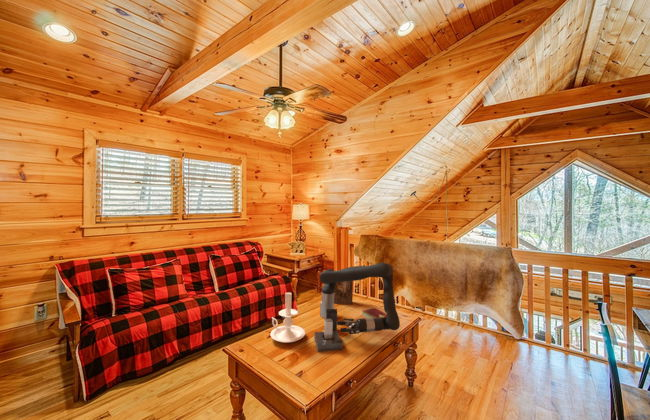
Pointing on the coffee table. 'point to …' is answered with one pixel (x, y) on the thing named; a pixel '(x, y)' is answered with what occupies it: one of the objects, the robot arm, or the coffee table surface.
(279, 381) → the coffee table surface
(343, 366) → the coffee table surface
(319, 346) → the bore plate
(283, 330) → the candlestick
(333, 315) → the block
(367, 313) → the hardcover book
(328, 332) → the square bit
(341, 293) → the book
